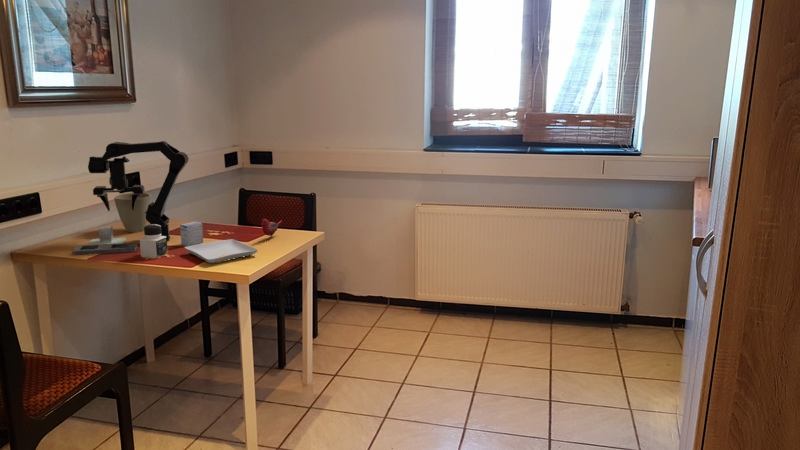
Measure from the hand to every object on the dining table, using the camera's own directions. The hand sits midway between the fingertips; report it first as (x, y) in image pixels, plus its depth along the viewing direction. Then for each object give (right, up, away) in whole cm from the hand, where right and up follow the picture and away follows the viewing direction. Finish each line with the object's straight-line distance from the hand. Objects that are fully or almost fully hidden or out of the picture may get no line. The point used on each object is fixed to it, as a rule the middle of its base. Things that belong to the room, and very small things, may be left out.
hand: (121, 210), depth 246 cm
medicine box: (+30, -14, 0) cm, 33 cm away
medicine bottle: (+21, -18, -17) cm, 33 cm away
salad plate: (+47, -19, -15) cm, 52 cm away
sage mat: (-5, -14, -1) cm, 15 cm away
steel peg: (-5, -13, -1) cm, 14 cm away
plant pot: (-3, -9, +20) cm, 22 cm away
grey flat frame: (0, -16, -12) cm, 20 cm away
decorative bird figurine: (+61, -12, +12) cm, 63 cm away
